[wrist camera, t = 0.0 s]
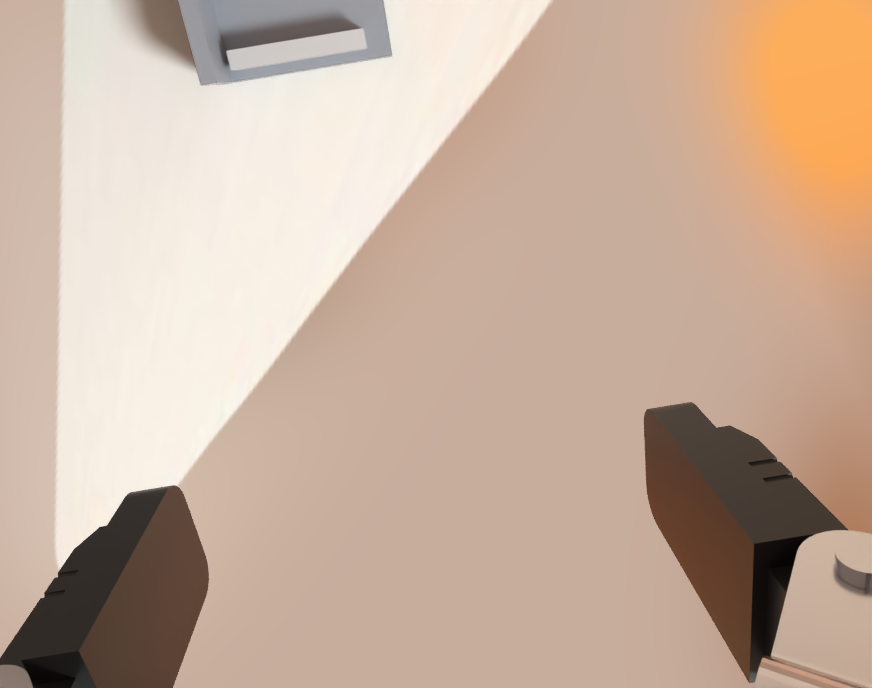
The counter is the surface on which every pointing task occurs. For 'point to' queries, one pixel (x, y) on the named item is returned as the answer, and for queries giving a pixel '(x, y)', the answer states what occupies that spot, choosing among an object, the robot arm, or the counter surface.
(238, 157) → the counter surface
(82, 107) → the counter surface
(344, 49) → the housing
